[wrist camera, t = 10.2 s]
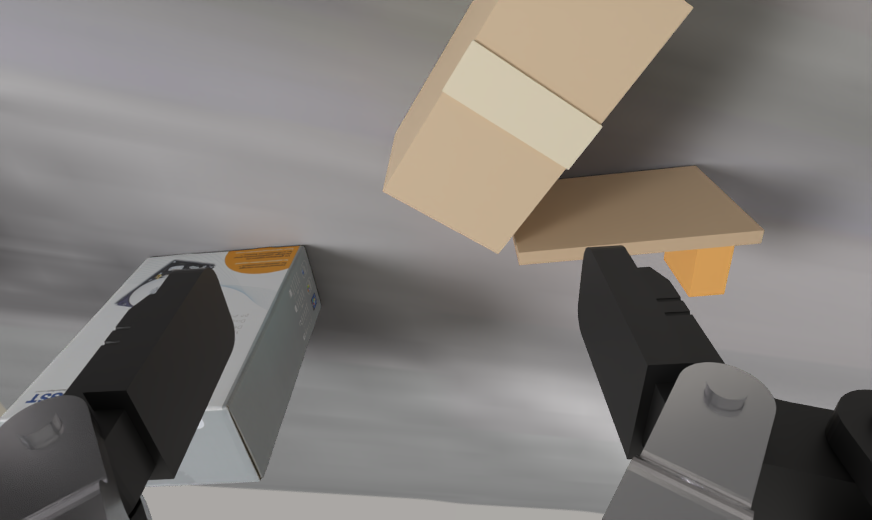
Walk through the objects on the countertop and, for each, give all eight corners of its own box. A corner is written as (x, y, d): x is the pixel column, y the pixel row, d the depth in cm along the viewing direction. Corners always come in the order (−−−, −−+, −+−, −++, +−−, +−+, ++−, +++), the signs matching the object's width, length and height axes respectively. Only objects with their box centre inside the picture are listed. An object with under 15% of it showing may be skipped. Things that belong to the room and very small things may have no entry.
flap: (502, 185, 45) (518, 252, 35) (695, 165, 44) (764, 230, 34) (505, 235, 47) (520, 311, 38) (687, 218, 46) (748, 291, 37)
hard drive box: (305, 241, 49) (233, 408, 32) (323, 307, 53) (268, 486, 36) (143, 255, 49) (-10, 424, 33) (173, 318, 54) (51, 498, 37)
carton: (394, 133, 43) (381, 191, 33) (526, -94, 35) (558, -101, 25) (487, 187, 45) (499, 256, 36) (631, -12, 37) (696, 9, 28)
